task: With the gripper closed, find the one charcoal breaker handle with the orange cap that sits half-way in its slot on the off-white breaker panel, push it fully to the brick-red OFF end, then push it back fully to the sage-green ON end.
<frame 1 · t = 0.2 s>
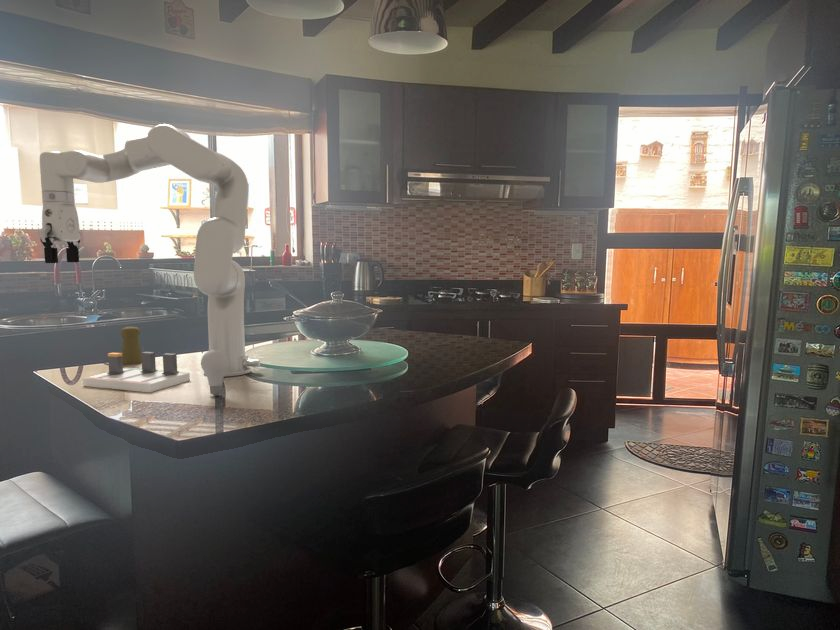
hand: (62, 262, 162), 31 cm above the worktop, fingers open, 9 cm apart
breaker panel: (137, 383, 152), on the worktop
cork: (132, 363, 179), on the worktop
breaker b: (148, 362, 155), point 5 cm above the worktop, slide at 0.0 cm
tripped breaker: (115, 363, 154), point 5 cm above the worktop, slide at 4.0 cm
breaker a: (170, 363, 153), point 5 cm above the worktop, slide at 0.0 cm
lightbulb: (216, 396, 139), on the worktop
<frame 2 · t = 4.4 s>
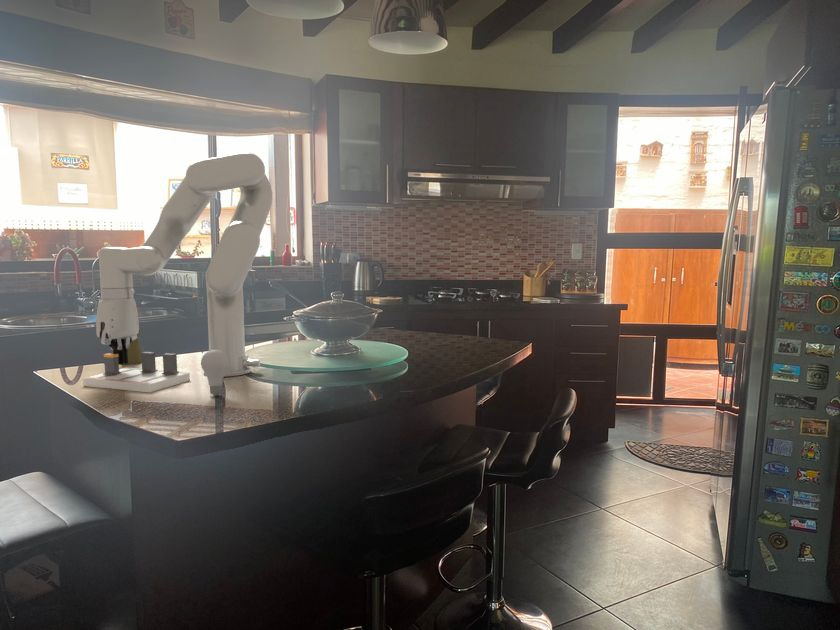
hand: (120, 363, 156), 4 cm above the worktop, fingers closed
tripped breaker: (111, 363, 153), point 5 cm above the worktop, slide at 5.3 cm, touching gripper
everything else where it was.
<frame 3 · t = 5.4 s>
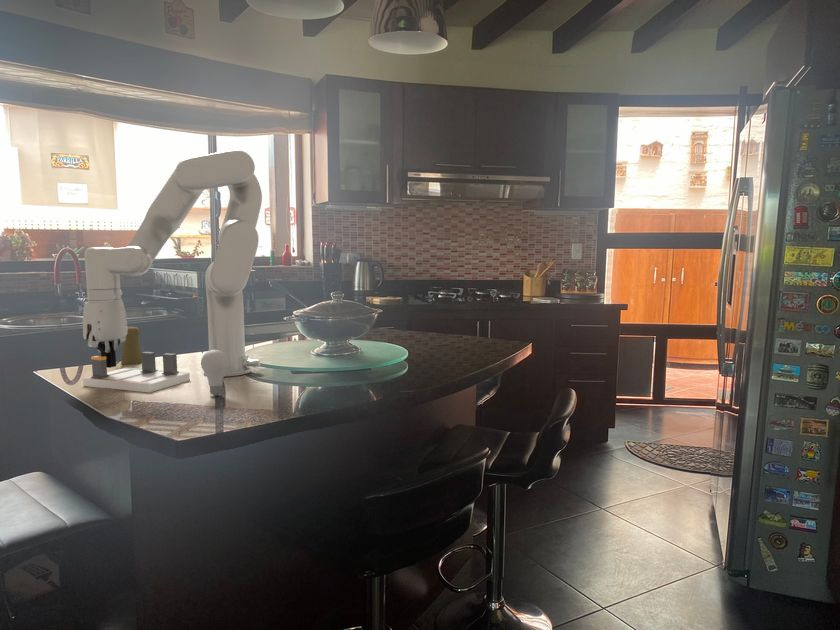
hand: (109, 366, 152), 4 cm above the worktop, fingers closed
tripped breaker: (99, 366, 149), point 5 cm above the worktop, slide at 9.0 cm, touching gripper
everything else where it was.
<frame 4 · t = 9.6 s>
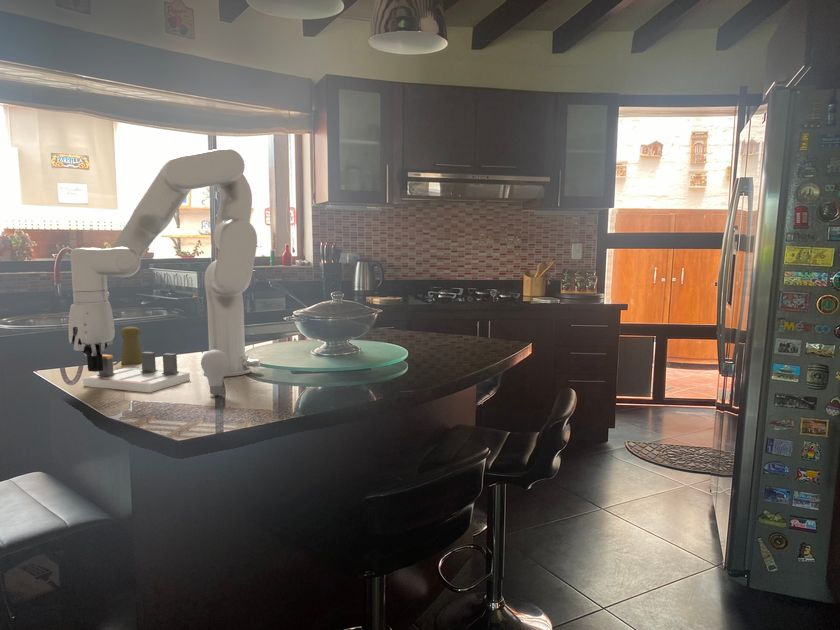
hand: (95, 370, 148), 4 cm above the worktop, fingers closed
tripped breaker: (105, 365, 151), point 5 cm above the worktop, slide at 7.1 cm, touching gripper
everything else where it was.
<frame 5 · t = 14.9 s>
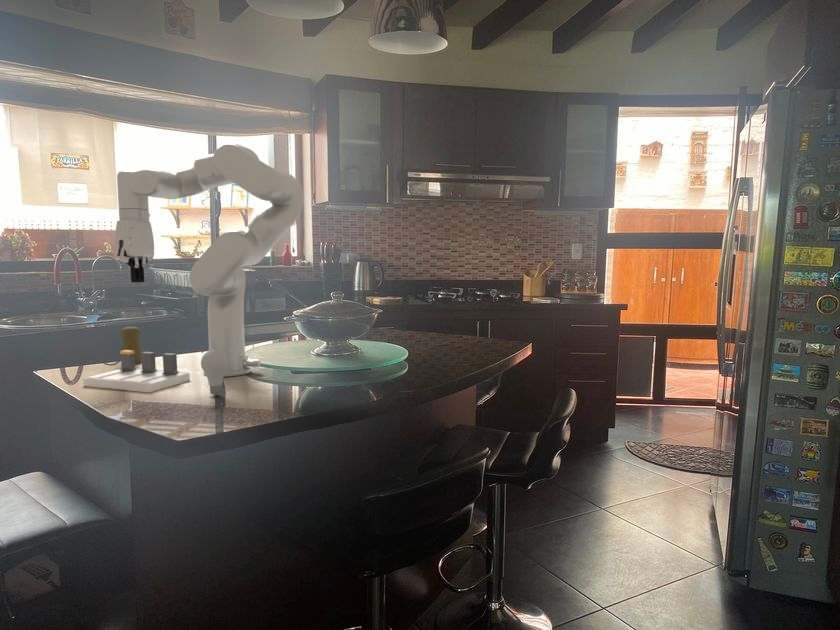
hand: (137, 282, 166), 25 cm above the worktop, fingers closed
tripped breaker: (127, 360, 158), point 5 cm above the worktop, slide at -0.1 cm
everything else where it was.
at the end: tripped breaker slide at -0.1 cm; breaker b slide at 0.0 cm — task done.
